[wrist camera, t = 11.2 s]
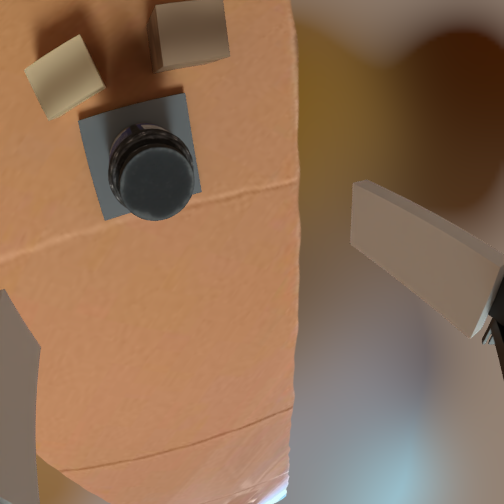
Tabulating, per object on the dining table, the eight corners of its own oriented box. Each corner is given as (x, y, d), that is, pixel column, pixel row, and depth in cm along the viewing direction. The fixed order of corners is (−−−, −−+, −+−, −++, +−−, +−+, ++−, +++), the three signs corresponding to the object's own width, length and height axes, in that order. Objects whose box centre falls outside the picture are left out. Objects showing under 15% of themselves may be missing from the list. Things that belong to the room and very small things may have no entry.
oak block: (38, 73, 20) (24, 70, 16) (85, 44, 20) (79, 34, 16) (59, 117, 23) (48, 120, 19) (106, 87, 23) (104, 85, 19)
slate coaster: (79, 120, 23) (78, 121, 23) (183, 93, 26) (185, 92, 26) (105, 217, 29) (104, 220, 28) (199, 189, 32) (201, 191, 31)
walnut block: (146, 25, 22) (155, 5, 16) (199, 17, 23) (222, -2, 17) (153, 73, 24) (163, 66, 19) (205, 64, 26) (230, 56, 20)
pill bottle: (126, 197, 28) (133, 248, 19) (98, 140, 24) (88, 165, 16) (183, 168, 29) (219, 205, 20) (160, 110, 26) (185, 117, 17)
